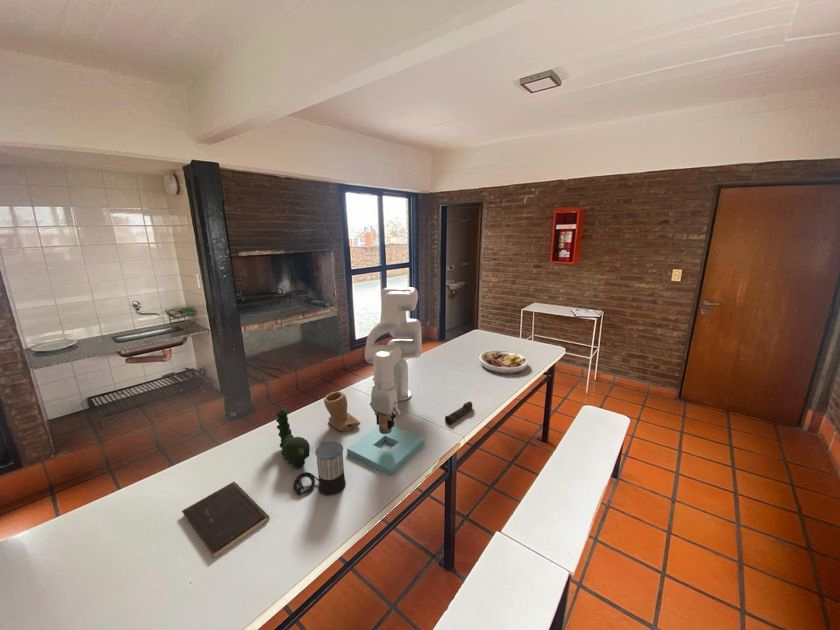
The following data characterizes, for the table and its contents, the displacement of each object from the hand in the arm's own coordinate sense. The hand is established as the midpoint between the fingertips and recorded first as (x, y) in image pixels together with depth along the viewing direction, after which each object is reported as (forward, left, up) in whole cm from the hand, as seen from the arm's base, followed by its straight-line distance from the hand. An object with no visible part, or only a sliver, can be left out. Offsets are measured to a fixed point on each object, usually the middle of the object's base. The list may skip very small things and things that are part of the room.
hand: (385, 425), depth 132 cm
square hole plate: (0, 0, -11) cm, 11 cm away
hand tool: (+13, +39, -12) cm, 43 cm away
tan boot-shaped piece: (-28, +2, -11) cm, 31 cm away
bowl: (+10, +107, -12) cm, 108 cm away
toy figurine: (-27, -24, -11) cm, 38 cm away
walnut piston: (0, 0, -2) cm, 2 cm away
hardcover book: (-21, -53, -12) cm, 58 cm away
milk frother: (-6, -28, -12) cm, 31 cm away
